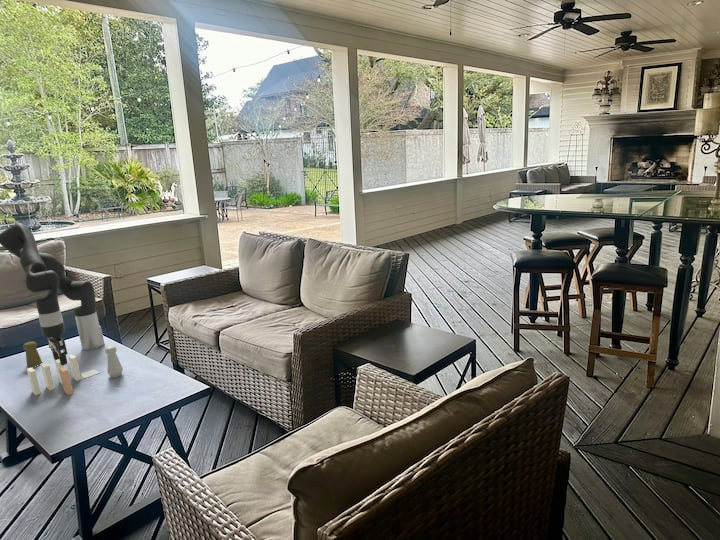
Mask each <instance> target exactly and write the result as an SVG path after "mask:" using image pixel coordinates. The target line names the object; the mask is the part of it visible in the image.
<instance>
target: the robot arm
mask: <svg viewBox="0 0 720 540" xmlns="http://www.w3.org/2000/svg"><path fill="white" fill-rule="evenodd" d="M0 245H1V246H2V247H3V248H4V249H5V250H7V251H8V252H9V253H11V254H12V255H14V256H15V257H17V258H19V261H20V266H21V268H22V270H23V271H24V273H25V286H26V289H27V290H28V291H30V292H32V293H39V292H43V291H47V293H46V294H45V295H42V296H40V297H38V298H36V300H35V303H36V308H37V313H38V320H39V324H40V329H41V334H42V337H44V338H46V339H47V343H48V348H49V349H50V351H51V353H52V357H53V361H54V360H58V359H60V364H61V365H64V366H65V365H67V364H68V357H67V355H68V350H67V346H66V341H65V339H64V338H63V337H61V335H63V334H65V333H66V326H65V323H64V319H63V318H64V317H63V314H62V312H61V309H60V308H61V307H60V305H59V299H58V298H59V297H58V291H59V292H61V293H62V294H63V295H64V296H65V297H66V298H67V299H69V300H71V301H80V303H81V304H80V306H77V307H75V309H73V315H74V318H75V321H76V327H77V332H78V336H79V340H80V345H81V349H82V350H83V349H85V350H84V351H90V350H89V349H91V350H94V349H95V348H96V349H99V348H101V347H102V346H104V345H105V344H106V343H105V340H104V335H103V330H102V326H101V325H100V322H99V318H98V314H97V309H96V308H97V300H96V295H95V294H96V293H95V289H94V285H93V283H92V282H91V281H89V280H77V281H76V280H72V279H71V278H70V277H68V276H67V275H66V268H65V266H64V264H63V263H62V262H61V261H60V260H59V259H58V258H57V257H55V256H54V255H52V254H49V253H46V252H40V251H39V249H38V246H37V242H36V239H35V236H34V234H33V232H32V231H31V229H30V228H29V227H27V226H26V225H25V224H24V223H21V222H18V223H15V224H12V225H11V226H9V227H8V228H6V229H5V230H3V231H2V232H0ZM100 346H101V347H100Z"/></svg>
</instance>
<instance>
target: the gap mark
mask: <svg viewBox="0 0 720 540" xmlns="http://www.w3.org/2000/svg"><path fill="white" fill-rule="evenodd" d="M98 373H99V374H100V372H99V371H97V370H96V369H95V368H93V369H90V370H88V371H85V372H82V373H80V375H81V378H84V379H87V378H90V377H92V376H95V375H98Z"/></svg>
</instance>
